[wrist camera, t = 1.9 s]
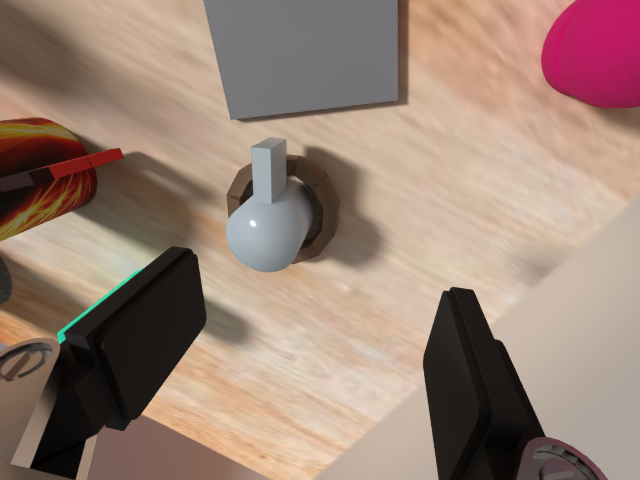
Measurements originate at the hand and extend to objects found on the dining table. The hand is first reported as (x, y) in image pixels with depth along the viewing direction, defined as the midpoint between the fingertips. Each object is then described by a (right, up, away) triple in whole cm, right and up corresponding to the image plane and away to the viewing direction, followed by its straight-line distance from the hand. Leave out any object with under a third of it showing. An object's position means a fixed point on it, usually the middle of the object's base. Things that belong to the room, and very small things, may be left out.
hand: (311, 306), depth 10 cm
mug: (-26, +11, +23) cm, 36 cm away
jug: (-3, +7, +20) cm, 21 cm away
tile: (-1, +19, +13) cm, 23 cm away
